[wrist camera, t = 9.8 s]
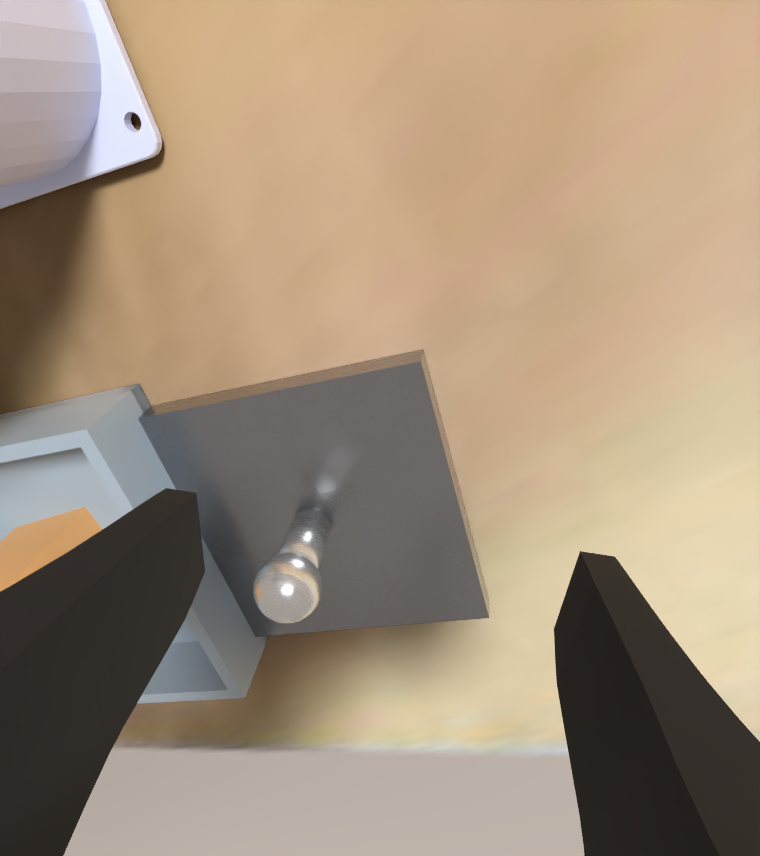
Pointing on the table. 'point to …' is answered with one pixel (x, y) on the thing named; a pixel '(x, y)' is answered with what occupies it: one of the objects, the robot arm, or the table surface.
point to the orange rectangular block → (43, 543)
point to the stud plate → (328, 497)
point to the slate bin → (110, 500)
